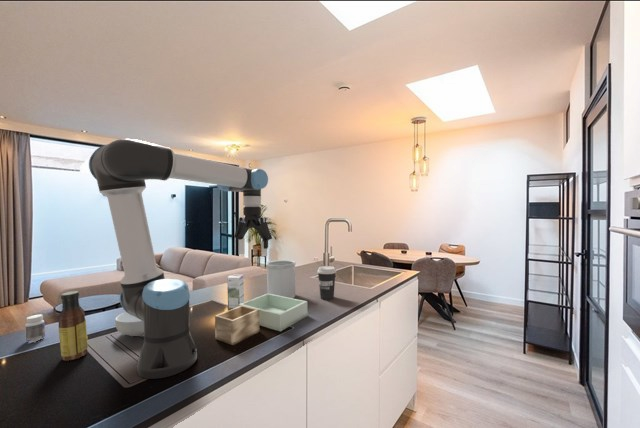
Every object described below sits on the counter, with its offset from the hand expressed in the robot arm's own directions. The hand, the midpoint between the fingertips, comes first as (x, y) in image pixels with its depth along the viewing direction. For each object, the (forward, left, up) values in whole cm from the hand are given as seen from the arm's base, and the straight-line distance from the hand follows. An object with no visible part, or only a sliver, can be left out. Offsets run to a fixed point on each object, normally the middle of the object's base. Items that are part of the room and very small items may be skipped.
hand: (252, 255), depth 122 cm
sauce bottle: (-56, +19, -25) cm, 64 cm away
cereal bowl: (-36, +19, -25) cm, 48 cm away
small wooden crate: (-20, -13, -24) cm, 34 cm away
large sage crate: (-1, -13, -24) cm, 28 cm away
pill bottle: (-59, +45, -25) cm, 78 cm away
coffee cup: (+31, -19, -25) cm, 44 cm away
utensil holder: (+21, +2, -25) cm, 33 cm away
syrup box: (-1, +10, -25) cm, 27 cm away
